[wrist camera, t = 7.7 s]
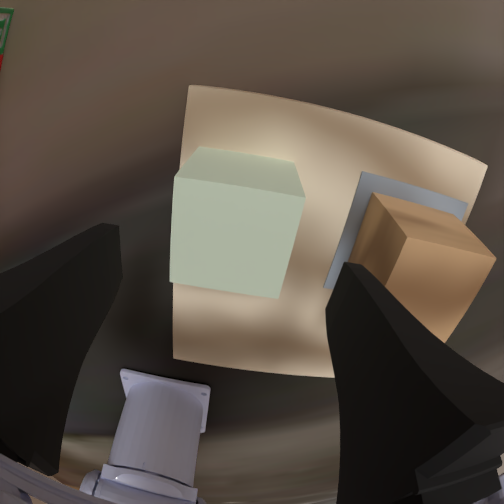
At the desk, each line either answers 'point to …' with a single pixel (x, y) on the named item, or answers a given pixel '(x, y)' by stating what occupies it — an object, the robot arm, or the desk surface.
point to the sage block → (234, 221)
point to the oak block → (422, 260)
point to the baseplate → (306, 220)
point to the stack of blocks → (4, 28)
